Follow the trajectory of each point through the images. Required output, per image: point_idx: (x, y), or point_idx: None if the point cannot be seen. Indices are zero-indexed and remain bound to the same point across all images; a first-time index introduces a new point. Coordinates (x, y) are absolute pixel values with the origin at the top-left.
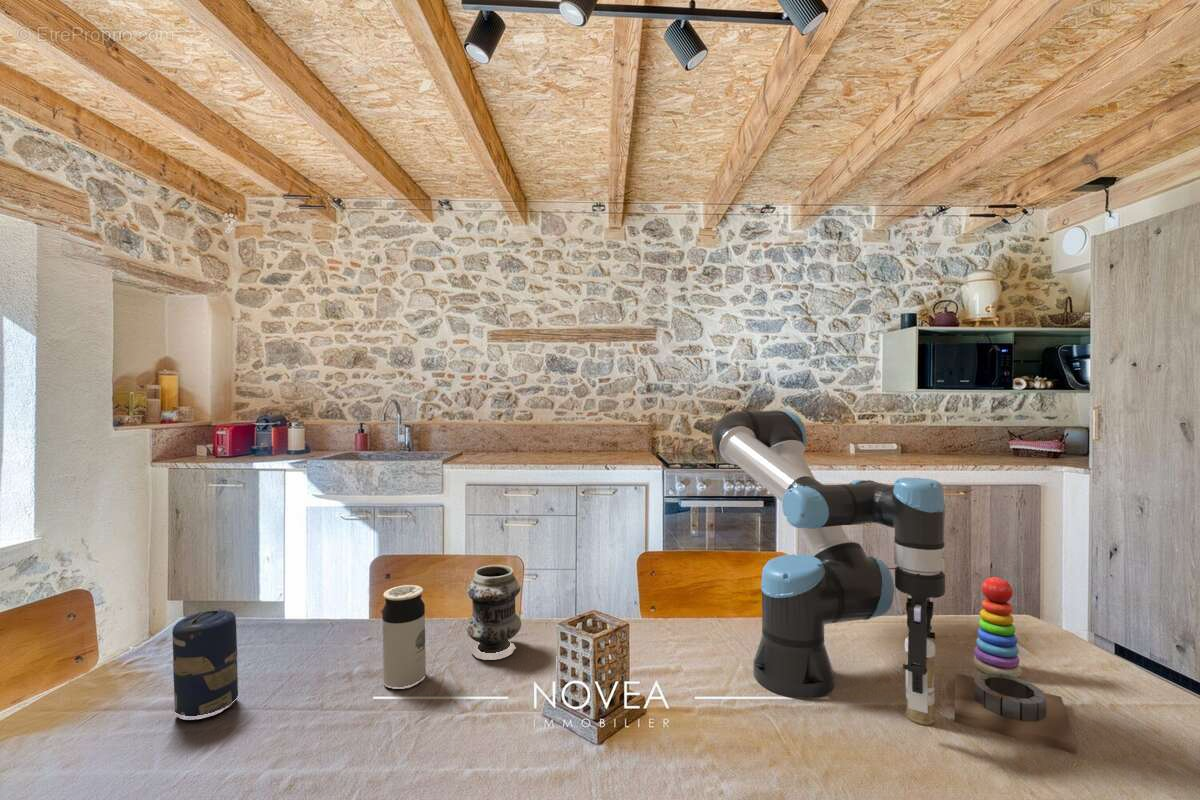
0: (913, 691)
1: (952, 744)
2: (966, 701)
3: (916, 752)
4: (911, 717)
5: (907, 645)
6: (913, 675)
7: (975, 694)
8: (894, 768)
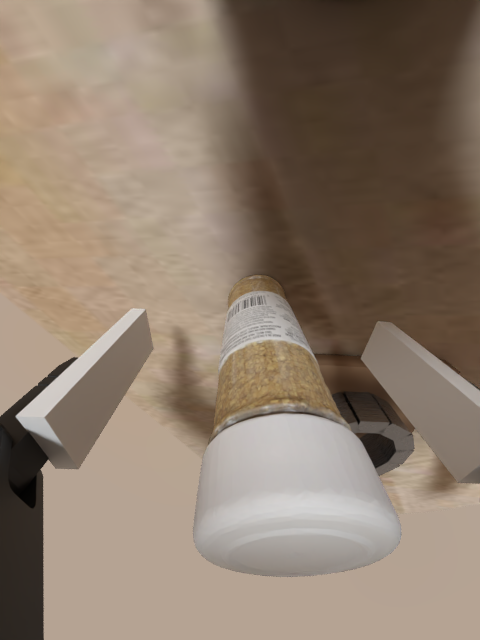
0: (70, 361)
1: (192, 345)
2: (330, 380)
3: (120, 293)
4: (234, 287)
5: (232, 482)
6: (3, 421)
7: (345, 401)
8: (28, 256)
